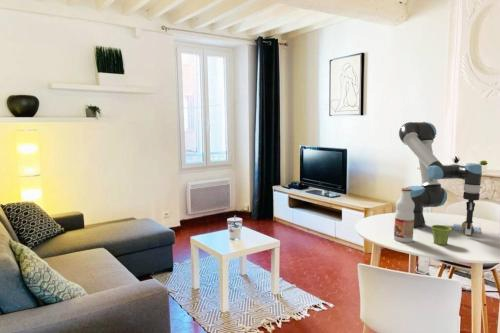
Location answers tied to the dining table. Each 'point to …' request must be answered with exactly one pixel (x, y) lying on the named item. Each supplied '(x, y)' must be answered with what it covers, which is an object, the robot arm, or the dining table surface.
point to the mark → (459, 227)
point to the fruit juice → (404, 217)
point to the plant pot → (440, 234)
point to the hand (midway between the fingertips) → (467, 234)
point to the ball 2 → (471, 230)
